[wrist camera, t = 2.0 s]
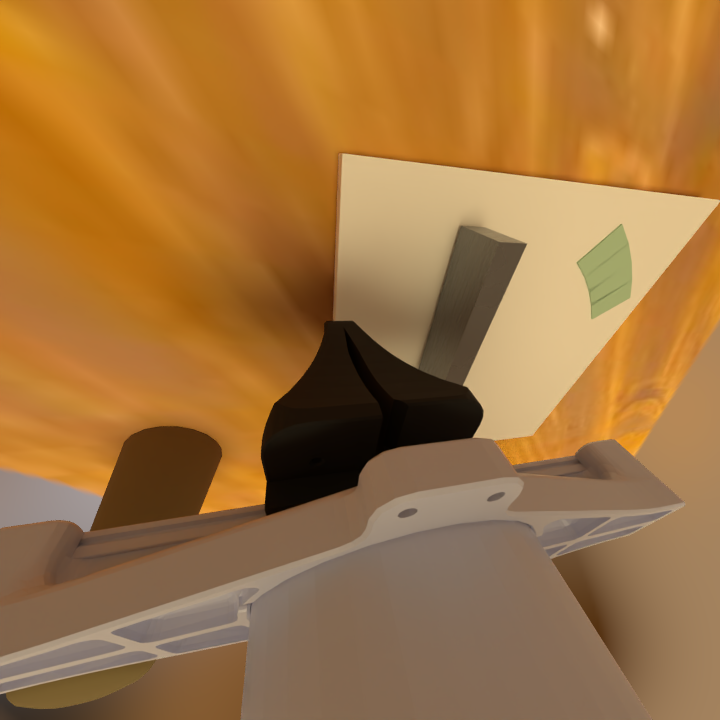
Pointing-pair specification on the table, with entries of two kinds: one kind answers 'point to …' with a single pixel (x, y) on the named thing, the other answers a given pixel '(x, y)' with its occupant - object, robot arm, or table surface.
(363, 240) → the dial board
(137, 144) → the table surface
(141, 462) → the cork
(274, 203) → the table surface
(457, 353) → the pointer
